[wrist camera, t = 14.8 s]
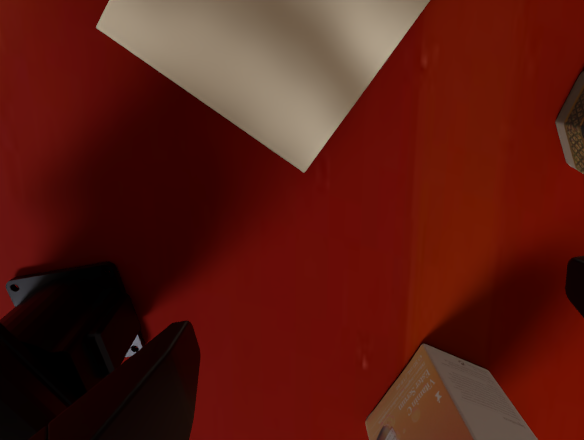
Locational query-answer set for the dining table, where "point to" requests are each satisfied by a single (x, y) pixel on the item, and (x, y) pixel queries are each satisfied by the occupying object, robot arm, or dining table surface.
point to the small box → (445, 403)
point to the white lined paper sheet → (267, 58)
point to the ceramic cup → (573, 126)
